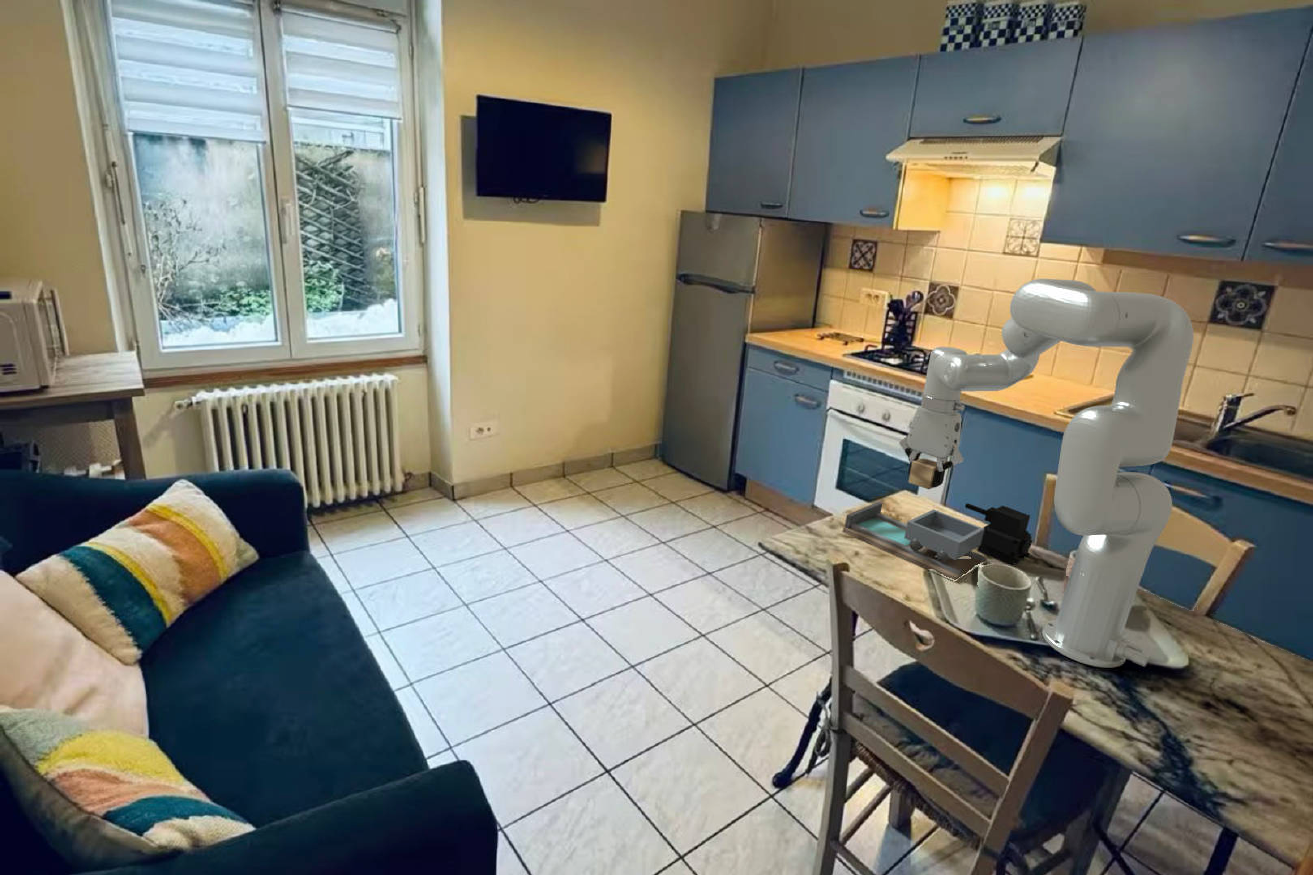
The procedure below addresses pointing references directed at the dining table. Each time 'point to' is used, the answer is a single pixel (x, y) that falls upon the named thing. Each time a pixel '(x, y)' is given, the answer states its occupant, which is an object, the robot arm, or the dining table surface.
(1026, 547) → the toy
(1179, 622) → the dining table surface
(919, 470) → the block
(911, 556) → the track
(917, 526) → the cart
